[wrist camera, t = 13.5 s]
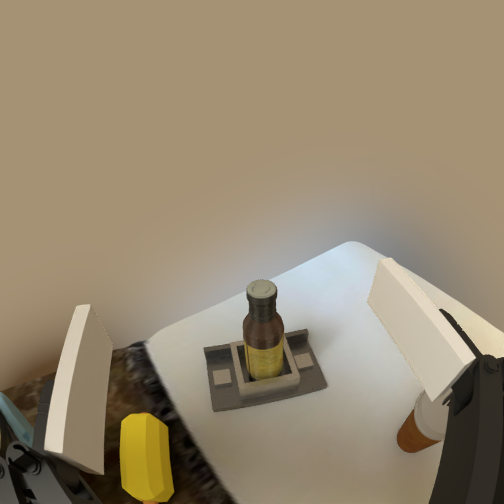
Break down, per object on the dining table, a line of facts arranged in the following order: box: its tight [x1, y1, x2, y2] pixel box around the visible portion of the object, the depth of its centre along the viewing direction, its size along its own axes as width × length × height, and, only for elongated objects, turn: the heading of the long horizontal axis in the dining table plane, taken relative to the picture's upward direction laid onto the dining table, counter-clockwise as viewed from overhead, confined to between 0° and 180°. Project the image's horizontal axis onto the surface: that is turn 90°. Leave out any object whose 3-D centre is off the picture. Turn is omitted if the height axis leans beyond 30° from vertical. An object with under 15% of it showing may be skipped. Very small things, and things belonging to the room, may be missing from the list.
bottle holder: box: [204, 329, 327, 412], centre depth 46 cm, size 20×12×5 cm, turn 101°
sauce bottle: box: [243, 280, 284, 381], centre depth 41 cm, size 6×6×20 cm
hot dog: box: [120, 413, 174, 504], centre depth 30 cm, size 18×7×8 cm
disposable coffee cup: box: [397, 388, 452, 453], centre depth 29 cm, size 10×10×12 cm
